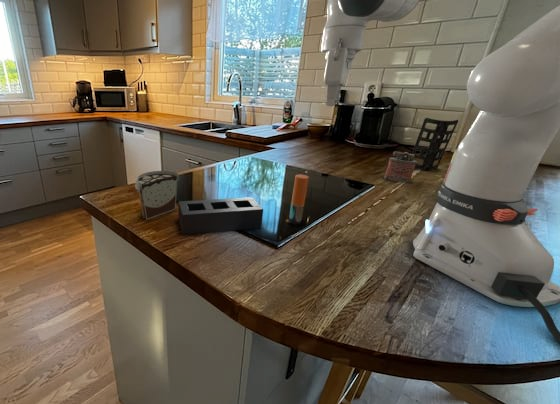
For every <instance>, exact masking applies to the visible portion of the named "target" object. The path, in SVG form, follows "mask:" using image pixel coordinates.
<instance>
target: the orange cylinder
mask: <svg viewBox="0 0 560 404" xmlns="http://www.w3.org/2000/svg"><path fill="white" fill-rule="evenodd" d="M309 179H310V176H308V175H306V174H301V173H299V174H296V175H295V176H294V184H293V189H292V196H291V201H290V208H289V209H290V210H289V216H288V223H289V224H290V225H293V226H300V225H301V224H302V221H303V220H302V219H303V215H304V214H303V213H304V207H305V202H306V197H307V191H308V185H309Z"/></svg>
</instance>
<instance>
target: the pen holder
mask: <svg viewBox="0 0 560 404" xmlns="http://www.w3.org/2000/svg"><path fill="white" fill-rule="evenodd" d="M177 212H178V213H177V214H178V219H177V220H178V223H179V227H180V230H181V233H182V236H183V235H194V234H195V235H196V234H206V233H219V232H231V231H233V232H234V231H245V230H259V229H262V224H263V215H264V208H263V207H262V206H261V205H260V204H259V203H258V202H257V201H256V200H255V198H254V197H253V196H249V197H234V198H217V199H216V198H215V199H214V198H213V199H201V200H200V199H199V200H198V199H197V200H183V201H180V200H179V201H178V202H177Z"/></svg>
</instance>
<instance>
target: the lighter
mask: <svg viewBox="0 0 560 404" xmlns="http://www.w3.org/2000/svg"><path fill="white" fill-rule="evenodd" d="M393 156H396V157H393ZM416 163H418V161H417V160H415V158H414V154H412V153H409V152H407V151H405V152H401V151H393V154H392V157H389V158H388V164H387V168H386V171H385V175H384V177H383V178H384V179H385V180H389V181H395V182H399V183H405V184H406V183H411V182H412V177H413V173H414V171H415V168H416V167H415V164H416Z"/></svg>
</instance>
